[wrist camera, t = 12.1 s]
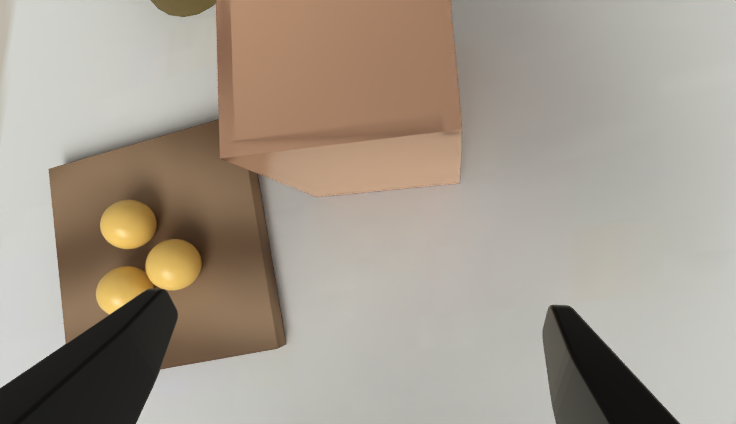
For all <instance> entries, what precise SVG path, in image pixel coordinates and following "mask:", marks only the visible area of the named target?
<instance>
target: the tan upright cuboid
mask: <svg viewBox="0 0 736 424" xmlns="http://www.w3.org/2000/svg"><path fill="white" fill-rule="evenodd" d="M216 22H217V62H218V102H219V142H220V159H222V160H225V161H227V162H230V163H232V164H235V165H237V166H240V167H242V168H245V169H247V170H250V171H252V172H255V173H258V174H260V175H263V176H265V177H268V178H270V179H273V180H275V181H278V182H280V183H283V184H285V185H288V186H290V187H293V188H295V189H298V190H300V191H303V192H305V193H308V194H310V195H313V196H315V197H322V196H332V195H343V194H353V193H364V192H374V191H384V190H395V189H405V188H416V187H426V186H436V185H447V184H457V183H460V166H461V144H462V122H461V111H460V100H459V89H458V78H457V67H456V56H455V45H454V34H453V23H452V11H451V0H216Z"/></svg>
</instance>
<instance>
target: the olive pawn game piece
mask: <svg viewBox="0 0 736 424" xmlns="http://www.w3.org/2000/svg"><path fill="white" fill-rule="evenodd" d="M151 1H152V2H153V3H154V4H155V6H156V7H157V8H158V9H160V10H162V11H164V12H165V13H167V14H169V15H174V16H180V17H186V16H191V15H196V14H199V13H201V12H203V11H205V10H206V9H208V8H210V7H212V6H213V5H214V4H215V3H216V0H151Z"/></svg>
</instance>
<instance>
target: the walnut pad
mask: <svg viewBox="0 0 736 424" xmlns="http://www.w3.org/2000/svg"><path fill="white" fill-rule="evenodd" d="M49 177H50V187H51V197H52V207H53V217H54V228H55V238H56V248H57V258H58V268H59V278H60V289H61V299H62V309H63V319H64V329H65V339H66V344H67V343H68V342H70V341H71V340H73V339H74V338H76V337H77V336H79V335H80V334H82V333H83V332H85V331H86V330H87V329H89V328H90V327H92V326H93V325H95V324H96V323H98V322H99V321H101V320H102V319H104V318H105V317H107V316H108V315H110V314H108V313H106V312H105V311H103V310H102V309H101V307H100V306H99V304H98V302H97V299H96V289H97V286H98V283H99V281H100V280H101V279H102V277H103V276H104V275H105V274H107V273H108V272H109V271H111V270H113V269H115V268H119V267H124V266H131V267H136V268H139V269H141V270H143V271H144V272H146V268H145V264H146V259H147V256H148V254H149V253H150V251H151V250H152V249H153V248H154V247H155V246H156V245H157V244H159V243H161V242H163V241H166V240H170V239H180V240H184V241H187V242H189V243H190V244H192V245H193V246H194V247H195V248H196V249H197V250H198V252H199V254H200V256H201V261H202V266H201V271H200V273H199V275H198V277H197V278H196V280H195V281H194V282H193V283H192V284H190V285H189V286H187V287H185V288H183V289H180V290H166V291H167V292H168V293H169V295H170V297H171V299H172V301H173V303H174V305H175V307H176V309H177V311H178V319H177V323H176V325H175V328H174V331H173V334H172V337H171V340H170V343H169V346H168V348H167V351H166V354H165V357H164V360H163V363H162V366H161V368H160V369H165V368H171V367H176V366H182V365H188V364H193V363H199V362H205V361H210V360H216V359H222V358H227V357H233V356H239V355H244V354H250V353H256V352H261V351H267V350H273V349H278V348H280V347H282V346H284V345H285V344H286V341H285V335H284V329H283V323H282V317H281V311H280V305H279V299H278V293H277V287H276V282H275V276H274V270H273V264H272V258H271V252H270V246H269V240H268V234H267V228H266V222H265V216H264V211H263V205H262V199H261V193H260V187H259V181H258V175H257V173H255V172H252V171H250V170H247V169H245V168H242V167H240V166H237V165H235V164H232V163H230V162H227V161H225V160H222V159H220V142H219V119H218V120H215V121H212V122H208V123H205V124H201V125H198V126H194V127H191V128H188V129H184V130H181V131H177V132H174V133H170V134H167V135H164V136H160V137H157V138H153V139H150V140H147V141H143V142H140V143H136V144H133V145H129V146H126V147H123V148H119V149H116V150H112V151H109V152H105V153H102V154H99V155H95V156H92V157H88V158H85V159H81V160H78V161H75V162H71V163H68V164H64V165H61V166H57V167H54V168H51V169H49ZM122 200H135V201H139V202H141V203H144V204H145V205H147V206H148V207H149V208H150V209H151V210H152V211H153V213H154V215H155V217H156V221H157V227H156V231H155V234H154V236H153V237H152V238H151V240H150V241H149V242H147V243H146V244H145V245H143V246H141V247H138V248H134V249H121V248H118V247H115V246H113V245H112V244H110V243H109V242H108V241H107V240H106V239H105V238H104V237H103V235H102V233H101V229H100V220H101V217H102V215H103V213H104V212H105V210H106V209H107V208H108V207H109V206H111V205H112V204H114V203H116V202H119V201H122ZM153 286H154V288H155V289H161V288H159V287H157V286H156V285H154V284H153Z"/></svg>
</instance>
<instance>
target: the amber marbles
mask: <svg viewBox="0 0 736 424" xmlns="http://www.w3.org/2000/svg"><path fill="white" fill-rule="evenodd" d="M156 227H157V221H156V217H155V215H154V213H153V211H152V210H151V209H150V208H149V207H148V206H147V205H145V204H144V203H141V202H139V201H135V200H122V201H119V202H116V203H114V204H112V205H111V206H109V207H108V208H107V209H106V210H105V212H104V213H103V215H102V217H101V220H100V229H101V233H102V235H103V237H104V238H105V239H106V240H107V241H108V242H109V243H110V244H112V245H113V246H115V247H118V248H121V249H134V248H138V247H141V246H143V245H145V244H146V243H147V242H149V241H150V240H151V238H152V237H153V236H154V234H155V231H156ZM201 266H202V261H201V256H200V254H199V252H198V250H197V249H196V248H195V247H194V246H193V245H192V244H190V243H189V242H187V241H184V240H180V239H170V240H166V241H163V242H161V243H159V244H157V245H156V246H155V247H154V248H153V249H152V250H151V251H150V253H149V254H148V256H147V259H146V264H145V268H146V272H144V271H143V270H141V269H139V268H136V267H131V266H124V267H119V268H115V269H113V270H111V271H109V272H108V273H107V274H105V275H104V276H103V277H102V279H101V280H100V281H99V283H98V286H97V289H96V299H97V302H98V304H99V306H100V307H101V309H102V310H103V311H105V312H106V313H108V314H111V313H113V312H114V311H116V310H117V309H119V308H120V307H121V306H123V305H124V304H126V303H127V302H129V301H130V300H132V299H133V298H135V297H136V296H138V295H139V294H141V293H142V292H144V291H145V290H147V289H151V288H154V286H153V284H154V285H156V286H157V287H159V288H161V289H165V290H180V289H183V288H185V287H187V286H189V285H190V284H192V283H193V282H194V281H195V280H196V278H197V277H198V275H199V273H200V271H201Z"/></svg>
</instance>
